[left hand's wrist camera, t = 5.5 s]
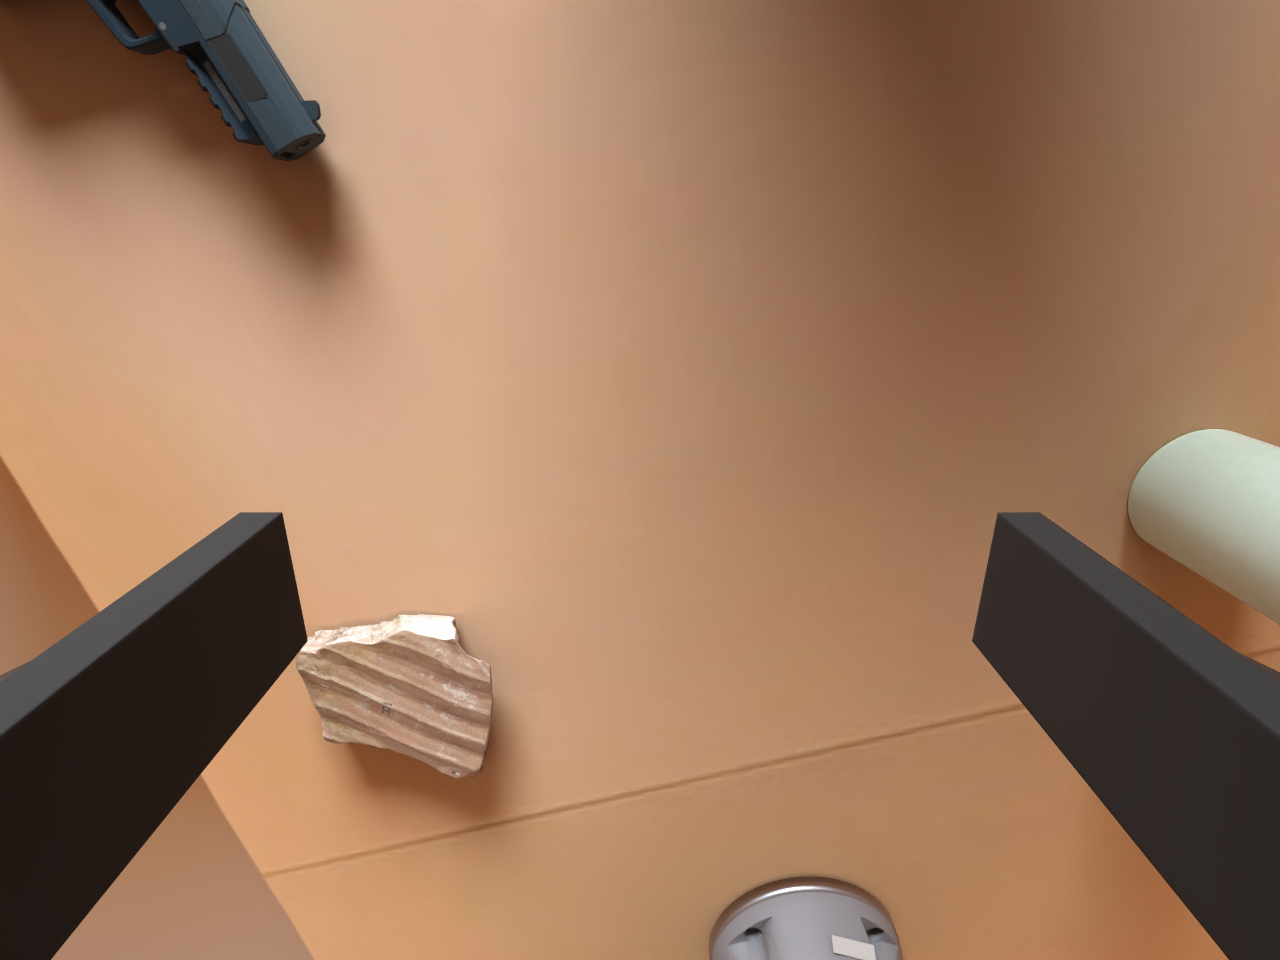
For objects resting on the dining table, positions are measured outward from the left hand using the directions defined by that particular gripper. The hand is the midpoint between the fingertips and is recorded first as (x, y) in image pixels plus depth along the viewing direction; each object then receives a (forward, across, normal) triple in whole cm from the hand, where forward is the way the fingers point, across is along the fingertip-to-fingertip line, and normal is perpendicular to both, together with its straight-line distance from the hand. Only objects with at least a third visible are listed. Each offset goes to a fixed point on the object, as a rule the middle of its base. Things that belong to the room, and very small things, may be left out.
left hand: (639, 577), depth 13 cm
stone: (+28, +16, +24) cm, 40 cm away
